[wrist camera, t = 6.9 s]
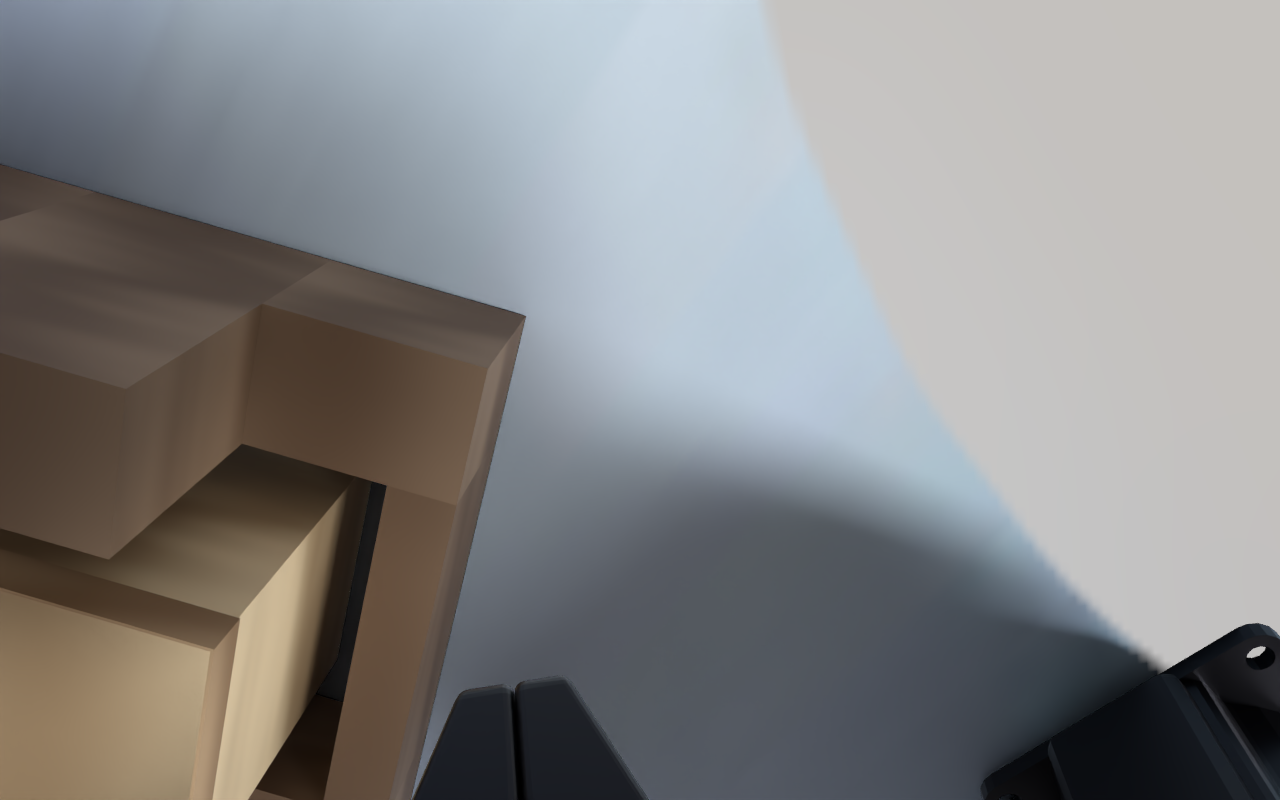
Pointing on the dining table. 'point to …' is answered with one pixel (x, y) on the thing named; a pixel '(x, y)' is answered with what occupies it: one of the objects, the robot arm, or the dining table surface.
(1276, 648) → the robot arm
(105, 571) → the peg
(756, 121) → the dining table surface
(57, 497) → the socket
